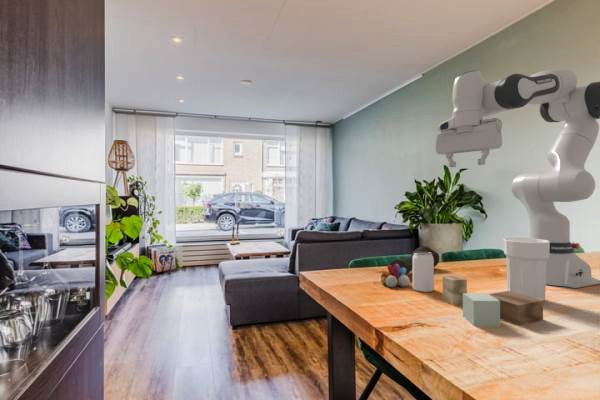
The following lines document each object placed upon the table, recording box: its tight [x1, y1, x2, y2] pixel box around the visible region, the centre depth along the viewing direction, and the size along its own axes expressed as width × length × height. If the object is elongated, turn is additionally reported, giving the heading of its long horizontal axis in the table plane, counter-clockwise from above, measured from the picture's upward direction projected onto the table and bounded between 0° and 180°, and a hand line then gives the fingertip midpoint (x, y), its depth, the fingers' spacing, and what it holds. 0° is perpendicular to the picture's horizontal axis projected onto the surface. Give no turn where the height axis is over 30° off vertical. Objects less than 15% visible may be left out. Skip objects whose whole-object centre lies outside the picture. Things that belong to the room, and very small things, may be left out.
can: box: [412, 251, 435, 293], centre depth 107 cm, size 6×6×12 cm
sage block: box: [462, 292, 501, 327], centre depth 80 cm, size 6×6×6 cm
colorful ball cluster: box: [380, 264, 411, 288], centre depth 114 cm, size 8×10×7 cm
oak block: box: [442, 275, 468, 306], centre depth 95 cm, size 4×4×7 cm
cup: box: [503, 237, 550, 304], centre depth 97 cm, size 11×11×17 cm
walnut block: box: [488, 290, 544, 327], centre depth 83 cm, size 9×9×5 cm
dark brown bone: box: [389, 245, 440, 276], centre depth 132 cm, size 11×10×28 cm
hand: (466, 166), depth 106 cm, fingers open, 8 cm apart
